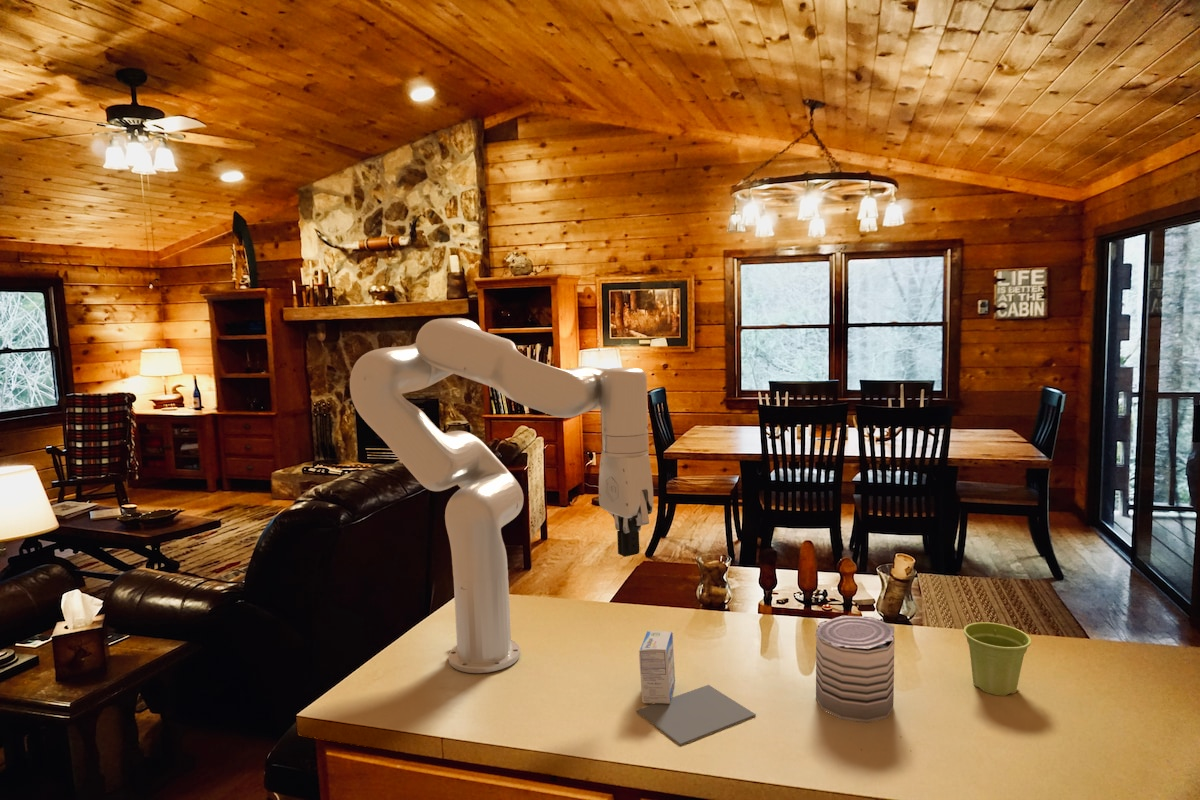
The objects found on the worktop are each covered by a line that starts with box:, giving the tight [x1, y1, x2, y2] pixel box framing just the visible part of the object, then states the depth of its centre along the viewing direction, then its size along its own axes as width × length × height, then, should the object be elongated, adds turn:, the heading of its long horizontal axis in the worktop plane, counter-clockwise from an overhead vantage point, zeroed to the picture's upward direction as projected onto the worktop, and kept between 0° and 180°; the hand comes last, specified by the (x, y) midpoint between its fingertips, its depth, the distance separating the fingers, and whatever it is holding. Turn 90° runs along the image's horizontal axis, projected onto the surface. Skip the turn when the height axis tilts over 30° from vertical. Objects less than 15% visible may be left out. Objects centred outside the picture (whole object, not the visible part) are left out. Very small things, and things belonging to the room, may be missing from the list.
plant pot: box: [963, 621, 1032, 697], centre depth 119 cm, size 9×9×9 cm
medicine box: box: [638, 630, 676, 704], centre depth 120 cm, size 8×4×9 cm, turn 168°
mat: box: [636, 684, 757, 747], centre depth 114 cm, size 11×14×1 cm
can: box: [815, 615, 895, 724], centre depth 116 cm, size 11×11×12 cm
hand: (628, 553), depth 125 cm, fingers closed
